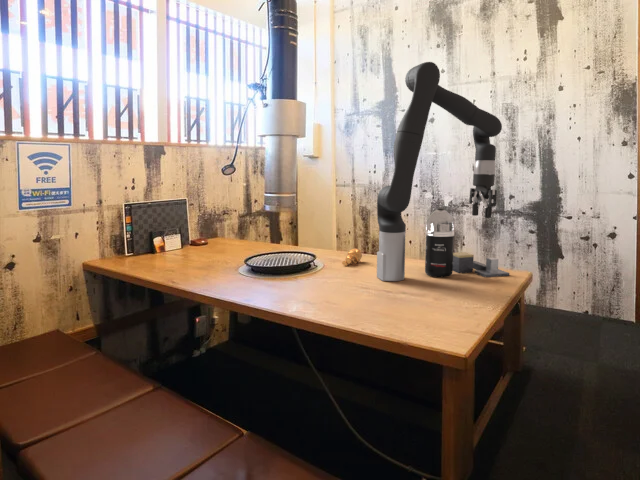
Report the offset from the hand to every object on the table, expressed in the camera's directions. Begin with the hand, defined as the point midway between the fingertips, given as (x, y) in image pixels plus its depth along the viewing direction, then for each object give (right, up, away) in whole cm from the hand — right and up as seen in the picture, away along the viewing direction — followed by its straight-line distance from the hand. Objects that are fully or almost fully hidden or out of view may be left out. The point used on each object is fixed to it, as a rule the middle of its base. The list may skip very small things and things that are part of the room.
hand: (481, 216), depth 167 cm
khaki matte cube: (-6, -21, +4) cm, 22 cm away
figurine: (-47, -19, +19) cm, 54 cm away
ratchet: (+2, -21, +3) cm, 21 cm away
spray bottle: (-17, -22, -2) cm, 28 cm away
